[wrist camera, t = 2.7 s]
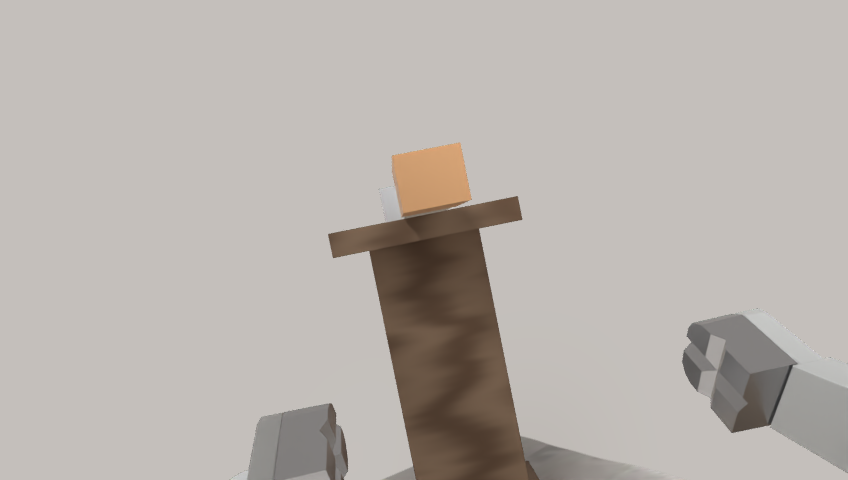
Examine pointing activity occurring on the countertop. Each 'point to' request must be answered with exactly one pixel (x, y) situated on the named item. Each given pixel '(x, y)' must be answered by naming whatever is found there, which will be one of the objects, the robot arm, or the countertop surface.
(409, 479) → the countertop surface
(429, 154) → the grey tan flat bar
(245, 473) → the supplement bottle
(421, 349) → the stand
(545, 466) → the countertop surface
